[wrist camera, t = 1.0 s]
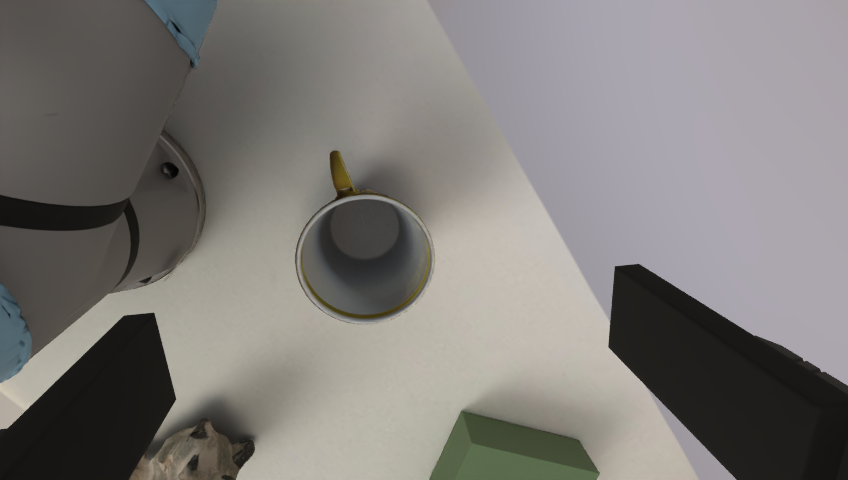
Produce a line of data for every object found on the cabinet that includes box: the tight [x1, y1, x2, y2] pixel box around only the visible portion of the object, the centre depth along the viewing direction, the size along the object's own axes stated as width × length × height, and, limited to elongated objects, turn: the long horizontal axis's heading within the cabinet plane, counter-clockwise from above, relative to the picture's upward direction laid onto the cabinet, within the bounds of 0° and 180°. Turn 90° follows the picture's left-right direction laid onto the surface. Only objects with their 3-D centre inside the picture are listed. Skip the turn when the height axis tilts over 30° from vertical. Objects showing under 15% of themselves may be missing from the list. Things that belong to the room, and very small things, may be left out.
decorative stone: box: [129, 418, 255, 480], centre depth 45 cm, size 16×9×10 cm
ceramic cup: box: [295, 151, 435, 324], centre depth 38 cm, size 13×10×10 cm
